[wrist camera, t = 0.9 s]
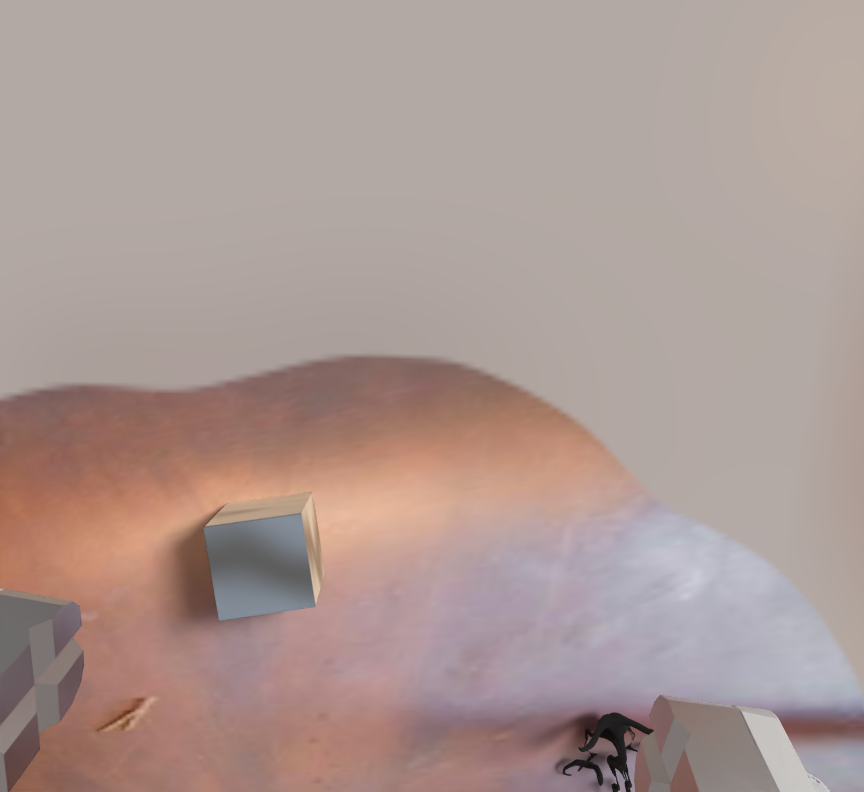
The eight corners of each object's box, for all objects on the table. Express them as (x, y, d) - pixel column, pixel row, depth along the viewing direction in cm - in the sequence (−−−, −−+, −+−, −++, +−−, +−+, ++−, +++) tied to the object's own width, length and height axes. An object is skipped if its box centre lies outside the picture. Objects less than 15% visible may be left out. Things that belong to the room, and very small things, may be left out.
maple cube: (325, 572, 49) (315, 607, 43) (240, 584, 49) (219, 620, 43) (312, 491, 48) (300, 514, 42) (227, 503, 48) (203, 527, 42)
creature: (661, 765, 53) (655, 683, 50) (693, 828, 48) (687, 741, 45) (562, 786, 53) (550, 705, 50) (583, 852, 48) (572, 766, 45)
